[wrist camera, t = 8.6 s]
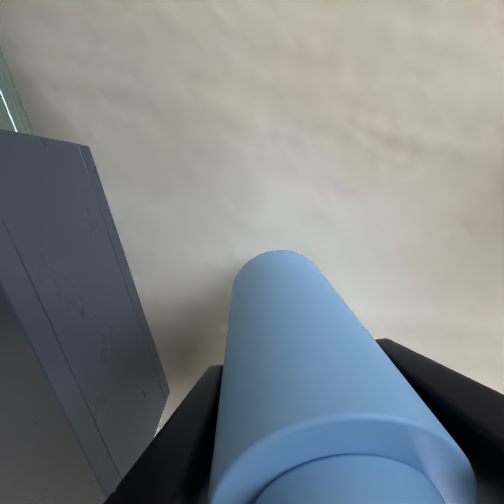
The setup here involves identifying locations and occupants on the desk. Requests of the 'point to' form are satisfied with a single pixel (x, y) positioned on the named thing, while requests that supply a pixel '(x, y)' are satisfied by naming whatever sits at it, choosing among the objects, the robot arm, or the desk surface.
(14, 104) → the drawer
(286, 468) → the water bottle
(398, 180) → the desk surface
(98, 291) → the cabinet
